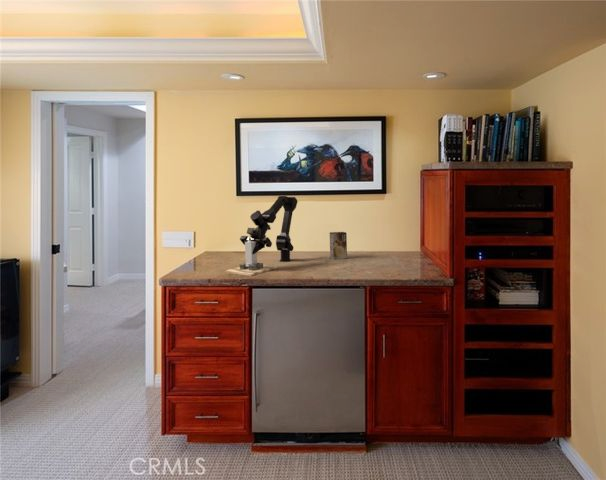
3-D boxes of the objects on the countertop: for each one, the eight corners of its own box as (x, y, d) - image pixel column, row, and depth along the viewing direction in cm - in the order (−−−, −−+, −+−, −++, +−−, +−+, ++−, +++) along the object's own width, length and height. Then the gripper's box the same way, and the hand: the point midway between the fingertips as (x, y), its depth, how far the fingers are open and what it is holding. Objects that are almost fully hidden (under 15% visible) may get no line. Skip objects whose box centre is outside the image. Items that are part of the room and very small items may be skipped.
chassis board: (252, 265, 276) (251, 259, 275) (277, 267, 266) (277, 261, 266) (224, 272, 255) (224, 266, 255) (250, 275, 246) (250, 269, 245)
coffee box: (343, 256, 298) (343, 231, 296) (347, 258, 292) (347, 232, 290) (329, 257, 296) (329, 232, 294) (333, 259, 290) (332, 233, 288)
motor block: (251, 264, 263) (250, 239, 262) (257, 265, 261) (256, 240, 259) (244, 266, 258) (243, 241, 256) (250, 266, 256) (249, 241, 254)
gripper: (241, 221, 266) (228, 243, 258) (268, 222, 256) (256, 245, 248) (250, 233, 273) (238, 255, 265) (277, 235, 263) (265, 258, 256)
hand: (249, 253), depth 258 cm, fingers closed on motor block, 4 cm apart
